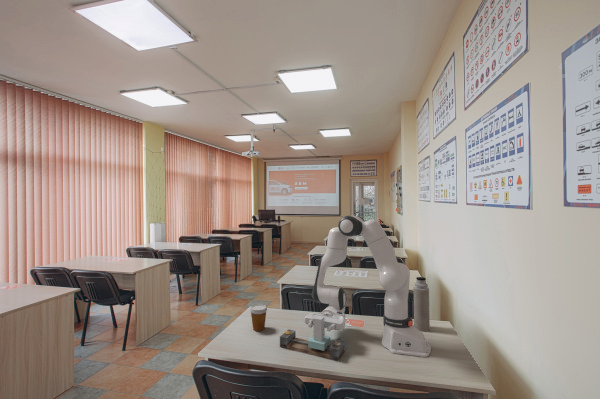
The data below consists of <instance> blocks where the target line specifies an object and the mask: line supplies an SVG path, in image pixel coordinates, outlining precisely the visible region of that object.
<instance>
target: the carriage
mask: <svg viewBox="0 0 600 399" xmlns="http://www.w3.org/2000/svg"><path fill="white" fill-rule="evenodd" d="M312 329H313V335H312V336H311V337H310V338H309V339H307V340H308V347H310V348H314V349H318V350H322V351H324V350H325V349H326V348H327V346H328V345H331V337H330V336H328V335H326V334H325V331H326V330H325V329H326V328H325V325H324V317H323V316H315V317H314V318H313V327H312Z"/></svg>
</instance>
